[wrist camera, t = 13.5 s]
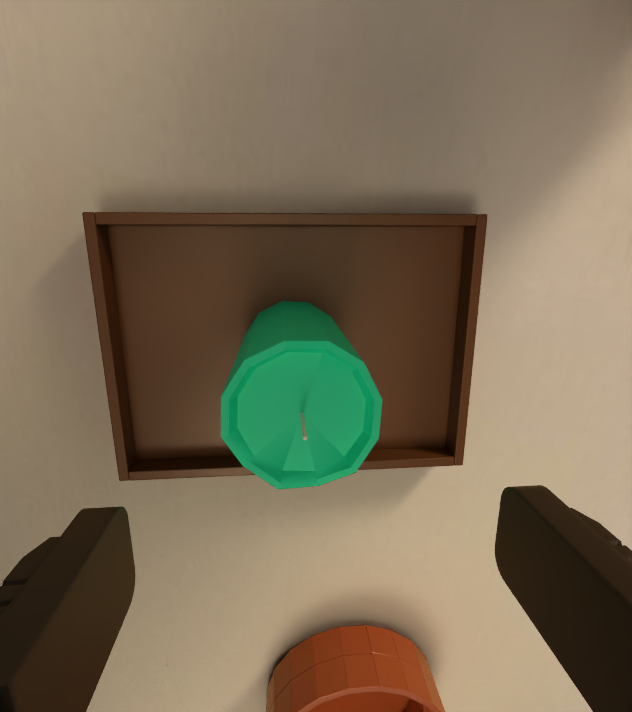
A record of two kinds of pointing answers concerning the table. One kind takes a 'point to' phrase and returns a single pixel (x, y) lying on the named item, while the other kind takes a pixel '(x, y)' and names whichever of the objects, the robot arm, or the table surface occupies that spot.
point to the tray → (264, 289)
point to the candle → (299, 399)
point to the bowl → (354, 674)
